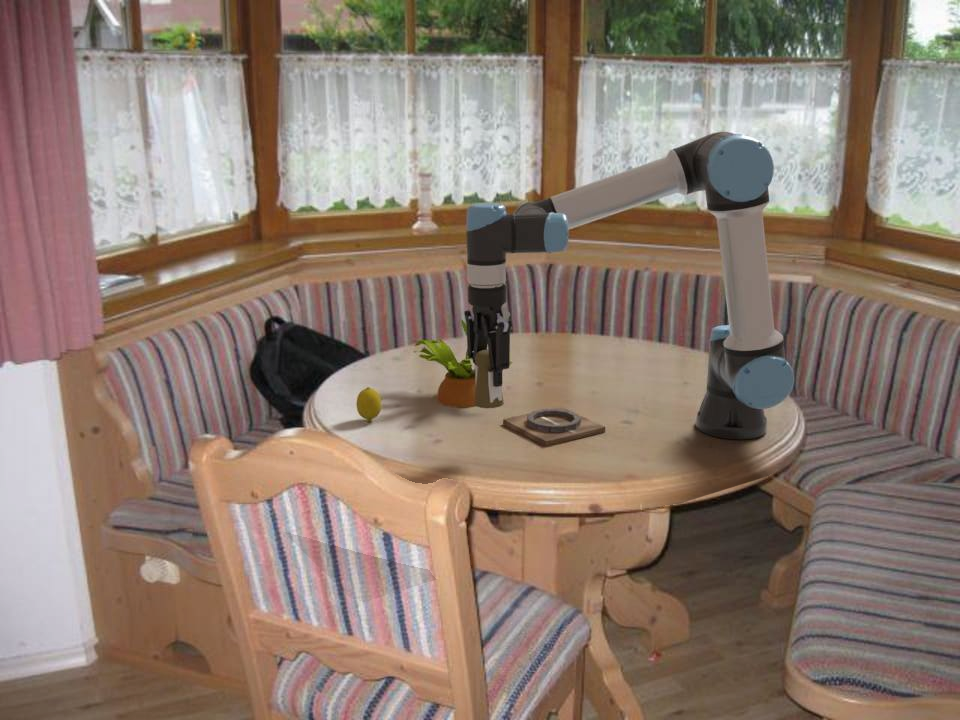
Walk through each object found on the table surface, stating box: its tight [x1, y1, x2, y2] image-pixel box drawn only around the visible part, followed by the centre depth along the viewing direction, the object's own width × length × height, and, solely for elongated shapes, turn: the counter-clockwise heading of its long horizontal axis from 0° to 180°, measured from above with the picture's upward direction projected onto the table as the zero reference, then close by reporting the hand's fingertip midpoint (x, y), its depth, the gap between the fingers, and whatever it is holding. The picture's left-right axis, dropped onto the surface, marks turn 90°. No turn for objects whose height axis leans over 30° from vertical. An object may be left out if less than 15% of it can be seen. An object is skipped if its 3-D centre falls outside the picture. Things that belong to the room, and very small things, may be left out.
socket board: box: [502, 406, 606, 447], centre depth 216 cm, size 16×16×2 cm
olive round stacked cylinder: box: [474, 349, 505, 409], centre depth 196 cm, size 6×6×11 cm
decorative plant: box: [413, 304, 513, 408], centre depth 232 cm, size 27×24×25 cm
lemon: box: [356, 386, 382, 422], centre depth 219 cm, size 6×6×8 cm
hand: (488, 397), depth 197 cm, fingers closed on olive round stacked cylinder, 4 cm apart
